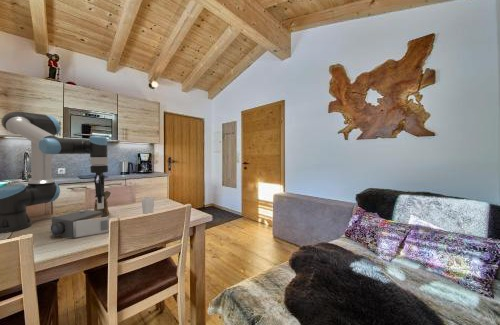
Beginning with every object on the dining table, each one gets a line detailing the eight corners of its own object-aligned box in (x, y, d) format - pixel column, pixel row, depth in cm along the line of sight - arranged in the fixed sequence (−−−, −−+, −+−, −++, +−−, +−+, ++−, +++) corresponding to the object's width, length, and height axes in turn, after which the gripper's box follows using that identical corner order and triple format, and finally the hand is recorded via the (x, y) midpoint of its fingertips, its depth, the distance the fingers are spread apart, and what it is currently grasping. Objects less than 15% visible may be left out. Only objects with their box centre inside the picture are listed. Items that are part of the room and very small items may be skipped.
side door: (73, 237, 102) (73, 221, 102) (108, 230, 111) (108, 216, 110) (73, 238, 101) (72, 222, 100) (109, 232, 109) (108, 217, 109)
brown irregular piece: (99, 220, 128) (98, 192, 127) (90, 216, 135) (89, 189, 134) (114, 216, 135) (114, 190, 134) (105, 213, 143) (105, 187, 142)
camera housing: (46, 237, 103) (45, 218, 102) (84, 224, 121) (83, 208, 120) (66, 240, 99) (66, 220, 99) (103, 227, 117) (102, 210, 117)
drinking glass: (146, 223, 124) (145, 199, 123) (139, 221, 128) (139, 197, 127) (156, 220, 130) (156, 197, 129) (150, 218, 133) (149, 195, 133)
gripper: (93, 164, 113) (94, 206, 115) (87, 166, 102) (88, 212, 103) (109, 164, 117) (110, 204, 118) (105, 165, 105) (106, 210, 106)
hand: (100, 208), depth 110 cm, fingers closed
